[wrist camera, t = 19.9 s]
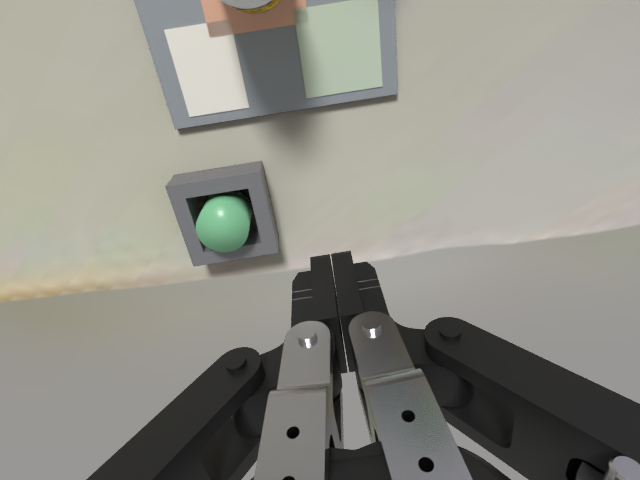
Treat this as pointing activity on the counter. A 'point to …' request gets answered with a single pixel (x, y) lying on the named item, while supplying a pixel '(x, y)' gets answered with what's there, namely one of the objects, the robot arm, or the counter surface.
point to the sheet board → (268, 56)
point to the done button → (224, 221)
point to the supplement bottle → (251, 5)
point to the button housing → (219, 181)
